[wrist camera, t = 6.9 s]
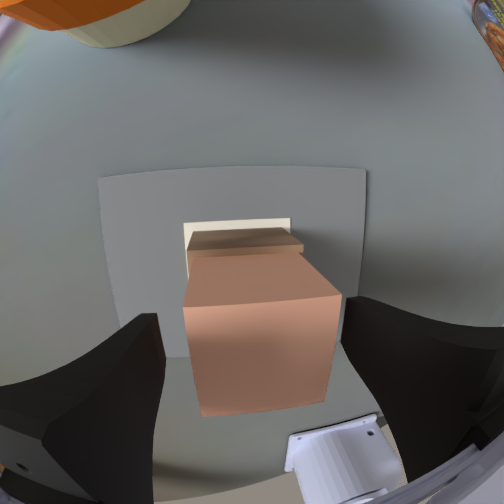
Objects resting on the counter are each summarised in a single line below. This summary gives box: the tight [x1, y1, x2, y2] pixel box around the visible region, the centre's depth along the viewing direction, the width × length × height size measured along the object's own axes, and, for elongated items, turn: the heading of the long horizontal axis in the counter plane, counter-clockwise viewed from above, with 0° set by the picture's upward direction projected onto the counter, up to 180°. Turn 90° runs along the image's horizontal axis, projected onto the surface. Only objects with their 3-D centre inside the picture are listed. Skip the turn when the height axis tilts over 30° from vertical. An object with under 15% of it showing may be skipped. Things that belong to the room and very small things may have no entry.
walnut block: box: [186, 227, 304, 275], centre depth 14 cm, size 5×5×4 cm
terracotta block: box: [183, 252, 342, 416], centre depth 10 cm, size 4×4×4 cm
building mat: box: [98, 166, 366, 357], centre depth 16 cm, size 16×12×1 cm
